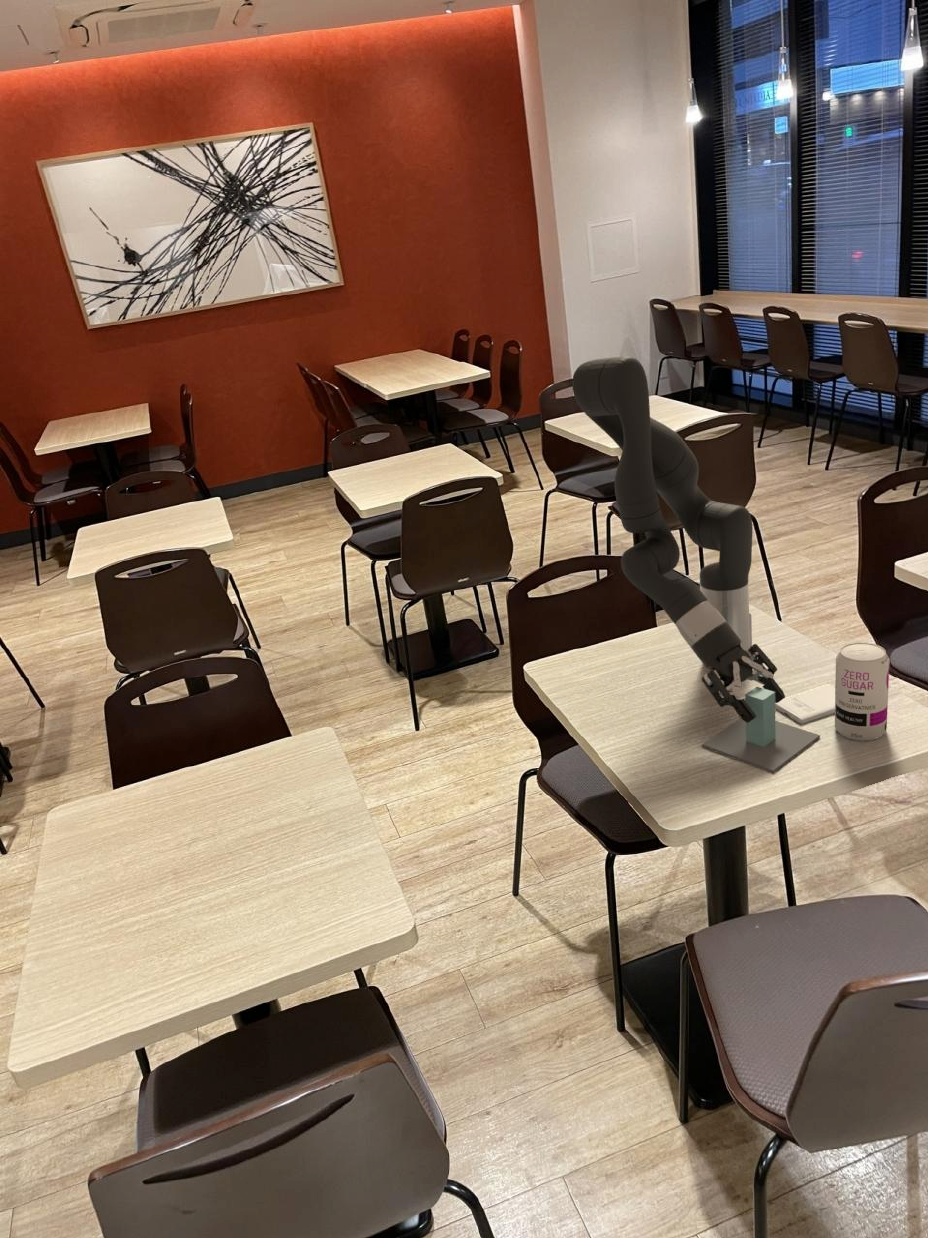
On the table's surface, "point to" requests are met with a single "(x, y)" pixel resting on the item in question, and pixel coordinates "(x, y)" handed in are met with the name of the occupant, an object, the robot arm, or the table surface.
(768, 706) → the teal block
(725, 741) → the gray mat
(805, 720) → the external hard drive
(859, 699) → the supplement can
